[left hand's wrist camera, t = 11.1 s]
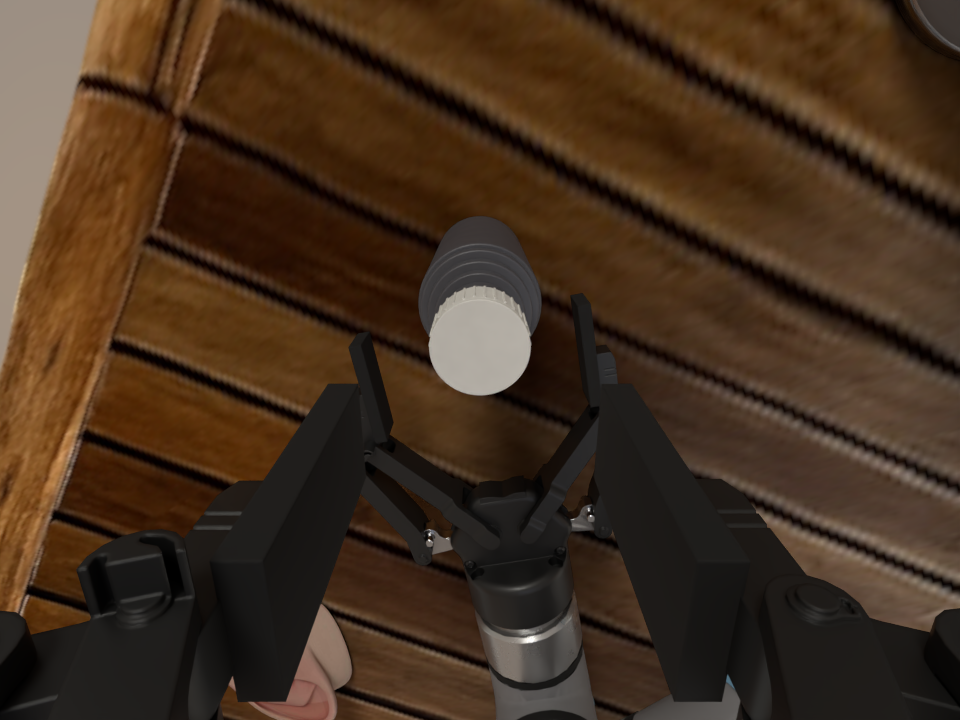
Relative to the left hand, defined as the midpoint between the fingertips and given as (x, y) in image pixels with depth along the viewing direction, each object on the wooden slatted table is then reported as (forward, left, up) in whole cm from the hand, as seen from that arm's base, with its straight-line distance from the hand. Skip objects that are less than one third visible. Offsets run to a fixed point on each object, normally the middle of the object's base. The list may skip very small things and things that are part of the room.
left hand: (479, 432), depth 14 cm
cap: (0, 0, -7) cm, 7 cm away
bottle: (0, 0, -26) cm, 26 cm away
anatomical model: (+3, +38, -26) cm, 46 cm away
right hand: (0, +3, -20) cm, 20 cm away
